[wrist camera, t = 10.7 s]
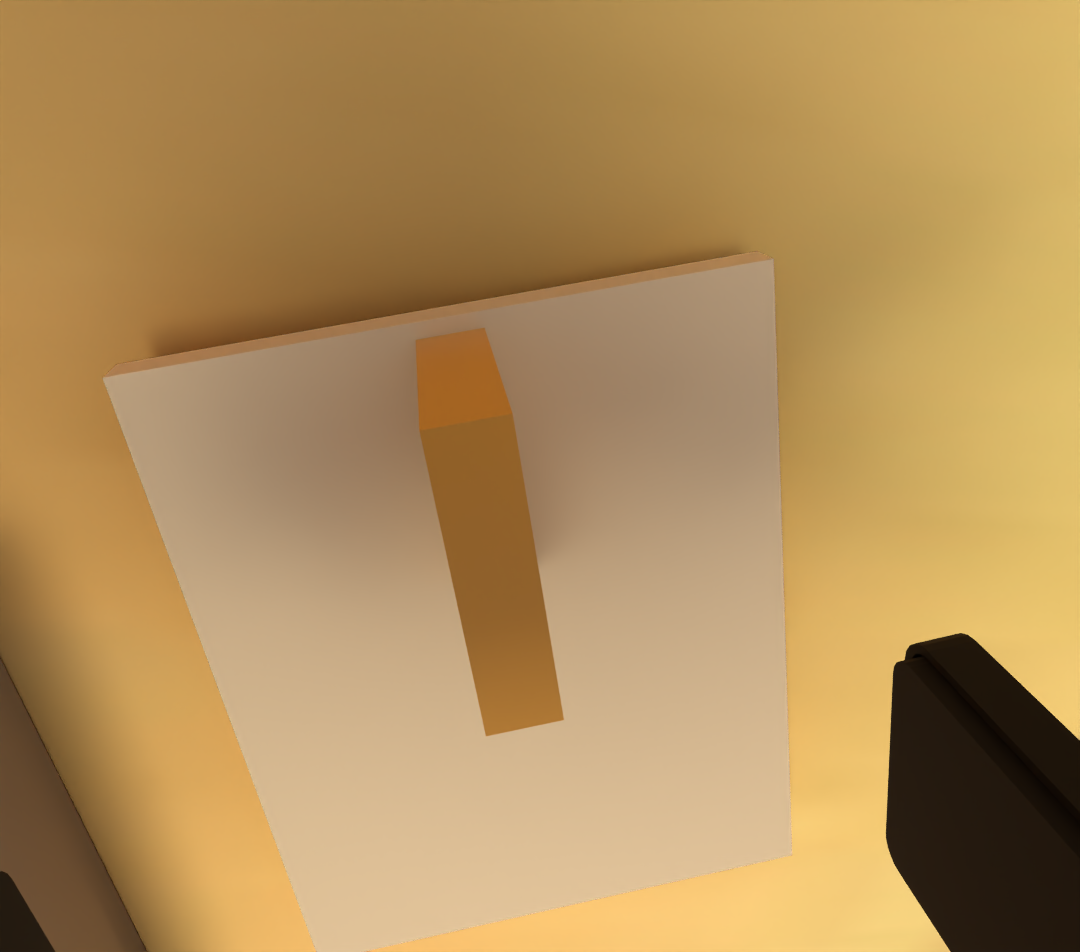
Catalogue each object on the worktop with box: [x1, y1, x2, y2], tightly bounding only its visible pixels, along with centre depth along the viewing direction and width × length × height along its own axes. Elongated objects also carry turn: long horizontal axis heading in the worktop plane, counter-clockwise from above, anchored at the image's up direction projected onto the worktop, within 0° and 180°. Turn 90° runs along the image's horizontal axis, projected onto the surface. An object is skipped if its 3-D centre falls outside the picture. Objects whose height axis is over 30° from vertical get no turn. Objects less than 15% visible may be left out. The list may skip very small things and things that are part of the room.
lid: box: [103, 251, 792, 952], centre depth 17 cm, size 15×12×6 cm
